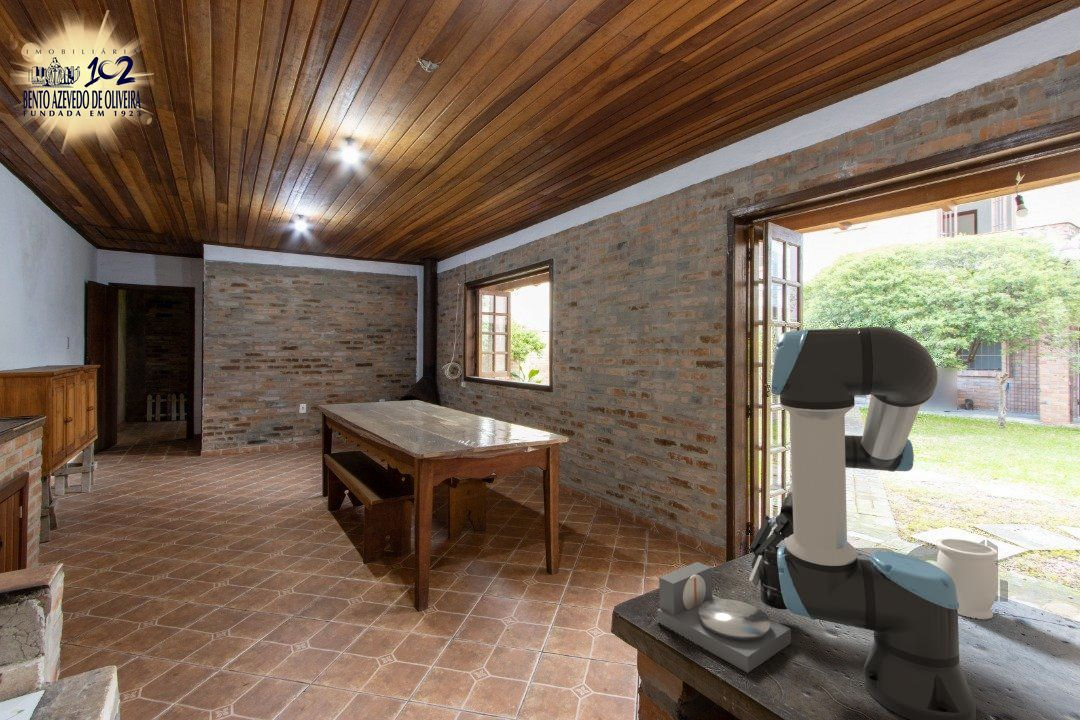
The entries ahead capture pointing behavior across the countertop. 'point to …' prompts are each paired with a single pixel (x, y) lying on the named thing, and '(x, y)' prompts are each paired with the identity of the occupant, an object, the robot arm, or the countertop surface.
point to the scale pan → (734, 619)
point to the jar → (970, 575)
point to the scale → (681, 614)
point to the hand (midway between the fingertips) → (768, 589)
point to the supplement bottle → (771, 580)
